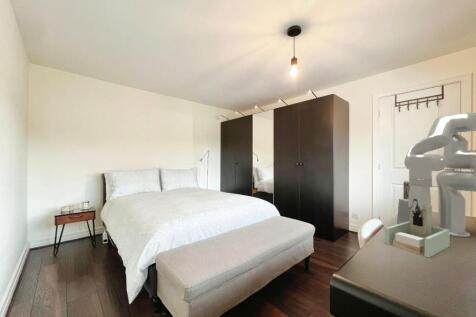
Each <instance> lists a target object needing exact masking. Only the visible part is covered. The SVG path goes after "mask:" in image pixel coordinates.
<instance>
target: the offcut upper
mask: <svg viewBox="0 0 476 317" xmlns="http://www.w3.org/2000/svg"><path fill="white" fill-rule="evenodd" d="M395 240H396V241H399V242H402V243H406V244H409V245H412V246H416V247H421V246H424V245H425V241H424V238H421V237H417V236H414V235H410V234H406V233H402V232H399V233H396V234H395Z"/></svg>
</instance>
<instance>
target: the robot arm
mask: <svg viewBox="0 0 476 317" xmlns="http://www.w3.org/2000/svg"><path fill="white" fill-rule="evenodd" d="M431 125H432V126H431V127H430V130H429V131H428V134H427V136H426V137H425V138H423V139H421V140H419V141H418V142H415V144H414V145H412V146H410V148H409V149H408V151H407V153H406V155H405V157H404V162H403V163H404V167H405V168H406V170H408V181H409V186H410V189H409V200H408V207H409V208H412V209H411V210H412V212H413V225H416V226H421V227H422V226H423V217H422V210H424V207H425V206H427V205H431V206H432V204H431V202H432V199H431V198H432V196H431V188H433V172H438V173H437V174H436V176H435V180H436V186H437V190H438V191H437V192H438V193H437V194H438V226H437V227H438V228H443V229H448V230H450V236H454V237H460V238H469V237H470V236H471V233H470V232H468V231H466V199H465V197H464V195H463V194H462V193H461V192H462V191H463V192H464V191H465V192H474V193H475V192H476V149H475V150H474V149H473V150H472V149H470V150H469V141H468V140H467V139H466V138H465V137H464V136H462V135H461V134H459V133H465V132H467V133H468V132H476V112H461V113H453V114H445V115H442V116H439V117H437V118H435V119H434V120H433V122H432V124H431ZM442 148H443V154H442V155H441V154H435V153H434V154H432V153H431V154H430V152H432V151H435V150H439V149H442ZM428 152H429V154H428ZM425 153H427V154H425ZM445 168H446V169H451V170H444V169H445ZM462 170H471V171H462ZM460 191H461V192H460ZM417 208H419V209H417ZM418 211H419V212H418Z"/></svg>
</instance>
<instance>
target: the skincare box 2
mask: <svg viewBox="0 0 476 317" xmlns="http://www.w3.org/2000/svg"><path fill="white" fill-rule="evenodd" d="M411 209H412V208H410V230H411V231H414V232H417V233H421V234H424V235H427V234H431V227H432V226H433V225H432V224H433V223H432V222H433V220H432V218H433V206H432V204H431V205H427V206H425V207H424V210H422V217H423V226H422V227H421V226H416V225H413V212H412V210H411ZM417 209H419V208H417ZM418 212H419V211H418Z"/></svg>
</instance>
